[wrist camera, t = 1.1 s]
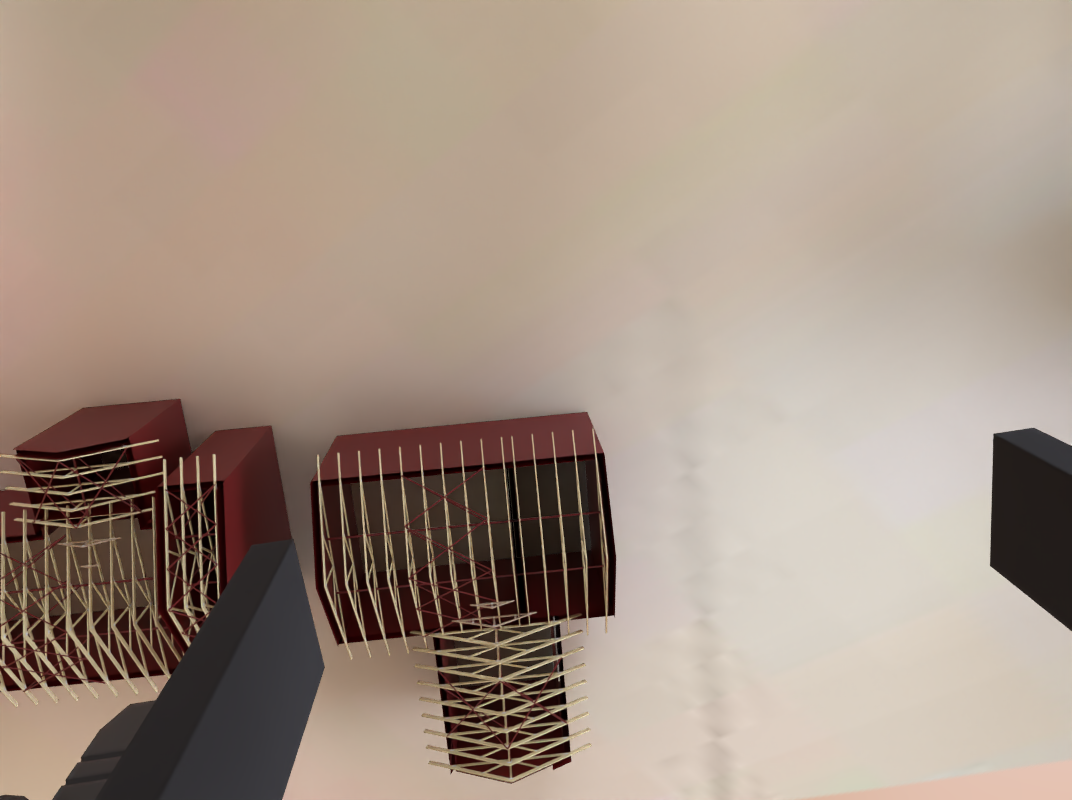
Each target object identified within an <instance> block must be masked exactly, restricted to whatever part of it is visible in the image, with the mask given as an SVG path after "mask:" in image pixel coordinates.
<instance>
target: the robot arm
mask: <svg viewBox="0 0 1072 800" xmlns="http://www.w3.org/2000/svg"><path fill="white" fill-rule="evenodd" d="M990 566H991V567H992V568H994V569H995V570H996V571H997V572H999V573H1000V574H1001V575H1002V576H1004V577H1005V578H1006V579H1007V580H1009V581H1010V582H1011V583H1012V584H1014V585H1015V586H1016V587H1017V588H1019V589H1020V590H1021V591H1022V592H1024V593H1025V594H1026V595H1027V596H1029V597H1030V598H1031V599H1032V600H1034V601H1035V602H1036V603H1037V604H1039V605H1040V606H1041V607H1042V608H1044V609H1045V610H1046V611H1047V612H1049V613H1050V614H1051V615H1052V616H1054V617H1055V618H1056V619H1057V620H1059V621H1060V622H1061V623H1062V624H1064V625H1065V626H1066V627H1067V628H1069V629H1070V630H1071V631H1072V446H1070V445H1068V444H1066V443H1064V442H1062V441H1060V440H1058V439H1056V438H1054V437H1052V436H1050V435H1048V434H1046V433H1043V432H1041V431H1039V430H1037V429H1035V428H1029V429H1023V430H1016V431H1009V432H1003V433H996V434H994V438H993V476H992V514H991V553H990ZM324 668H325V667H324V663H323V659H322V654H321V650H320V646H319V642H318V638H317V634H316V630H315V626H314V622H313V618H312V614H311V609H310V605H309V601H308V597H307V593H306V589H305V585H304V581H303V577H302V573H301V569H300V564H299V560H298V556H297V552H296V548H295V544H294V540H293V539H289V540H282V541H276V542H269V543H262V544H256V545H251V547H250V549H249V550H248V552H247V554H246V555H245V557H244V558H243V560H242V562H241V563H240V565H239V567H238V568H237V570H236V571H235V573H234V575H233V576H232V578H231V580H230V581H229V583H228V584H227V586H226V588H225V589H224V591H223V592H222V594H221V596H220V597H219V599H218V601H217V602H216V604H215V605H214V607H213V609H212V610H211V612H210V614H209V615H208V617H207V618H206V620H205V622H204V623H203V625H202V627H201V628H200V630H199V631H198V633H197V635H196V636H195V638H194V640H193V641H192V643H191V644H190V646H189V648H188V649H187V651H186V653H185V654H184V656H183V657H182V659H181V661H180V662H179V664H178V665H177V667H176V669H175V670H174V672H173V674H172V675H171V677H170V678H169V680H168V682H167V683H166V685H165V687H164V688H163V690H162V691H161V693H160V695H159V696H158V698H157V700H155V701H148V702H142V703H135V704H130V705H129V706H127V707H126V708H125V709H124V710H123V711H121V712H120V713H119V714H118V715H117V716H116V717H114V718H113V719H112V720H111V721H110V722H109V723H107V724H106V725H105V726H104V727H103V728H102V729H100V730H99V732H98V733H97V735H96V736H95V738H94V739H93V741H92V742H91V744H90V745H89V747H88V748H87V749H86V751H85V752H84V754H83V755H82V757H81V762H79V763H77V764H76V766H75V767H74V768H73V770H72V771H71V773H70V774H69V776H68V777H67V779H66V785H64V786H61V788H60V789H59V790H58V792H57V793H56V795H55V796H54V798H53V799H52V800H282V798H283V795H284V792H285V789H286V786H287V783H288V780H289V776H290V773H291V770H292V767H293V764H294V761H295V758H296V755H297V752H298V749H299V745H300V742H301V739H302V736H303V733H304V730H305V727H306V724H307V721H308V717H309V714H310V711H311V708H312V705H313V702H314V699H315V696H316V693H317V690H318V686H319V683H320V680H321V677H322V674H323V671H324ZM0 800H28V799H27V798H26V797H24V796H14V795H2V796H0Z"/></svg>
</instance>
